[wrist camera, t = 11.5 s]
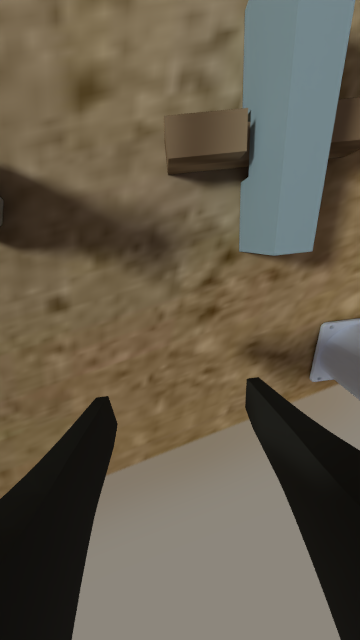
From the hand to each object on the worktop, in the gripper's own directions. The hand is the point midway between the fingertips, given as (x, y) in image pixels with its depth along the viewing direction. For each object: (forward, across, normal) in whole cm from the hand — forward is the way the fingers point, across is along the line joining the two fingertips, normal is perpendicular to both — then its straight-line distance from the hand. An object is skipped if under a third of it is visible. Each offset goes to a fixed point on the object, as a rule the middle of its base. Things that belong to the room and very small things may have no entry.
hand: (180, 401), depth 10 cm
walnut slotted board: (+10, -8, -14) cm, 19 cm away
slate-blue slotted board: (+10, -8, -13) cm, 19 cm away
